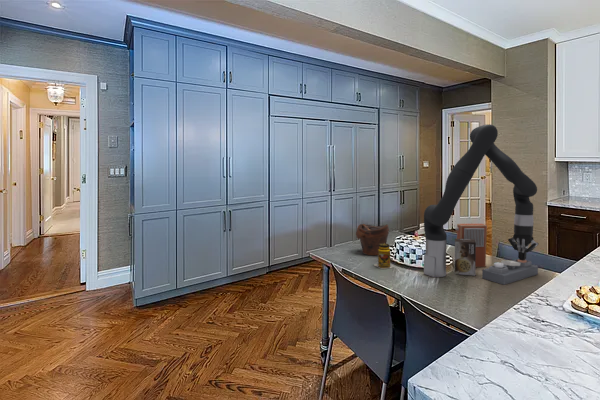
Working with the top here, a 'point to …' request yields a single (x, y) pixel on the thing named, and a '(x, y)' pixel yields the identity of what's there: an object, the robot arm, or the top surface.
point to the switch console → (510, 272)
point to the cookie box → (465, 256)
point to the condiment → (383, 256)
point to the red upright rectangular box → (477, 234)
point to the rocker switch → (511, 263)
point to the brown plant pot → (372, 237)
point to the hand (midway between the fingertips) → (522, 259)
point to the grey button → (498, 265)
